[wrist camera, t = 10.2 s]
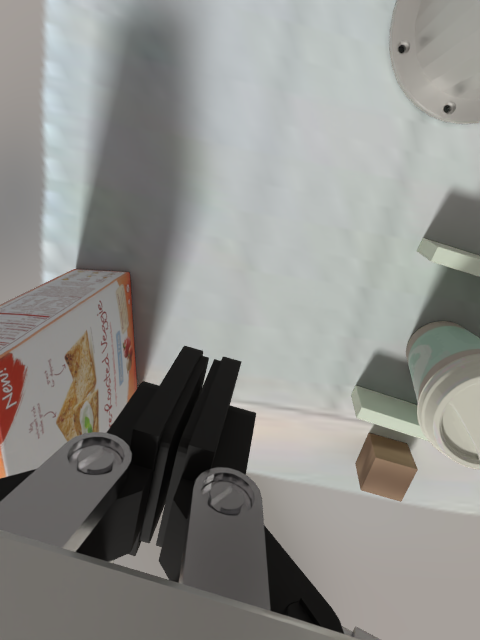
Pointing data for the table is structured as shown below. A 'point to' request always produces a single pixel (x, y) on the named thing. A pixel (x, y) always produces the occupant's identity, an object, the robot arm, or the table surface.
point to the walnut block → (385, 467)
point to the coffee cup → (448, 389)
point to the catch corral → (392, 409)
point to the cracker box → (63, 364)
